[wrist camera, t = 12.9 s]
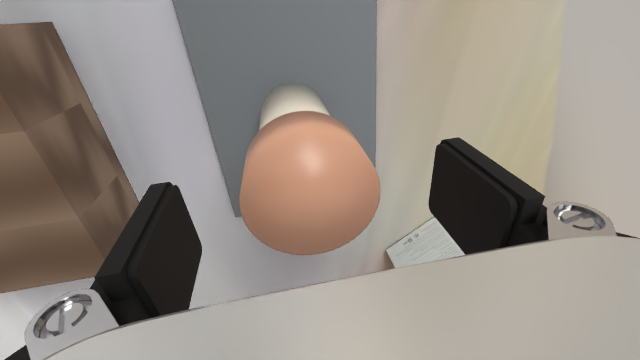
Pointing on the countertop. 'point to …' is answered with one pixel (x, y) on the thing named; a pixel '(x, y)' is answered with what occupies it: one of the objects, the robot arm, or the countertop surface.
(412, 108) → the countertop surface
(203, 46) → the mat
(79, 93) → the socket block
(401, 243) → the small box
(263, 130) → the plug
